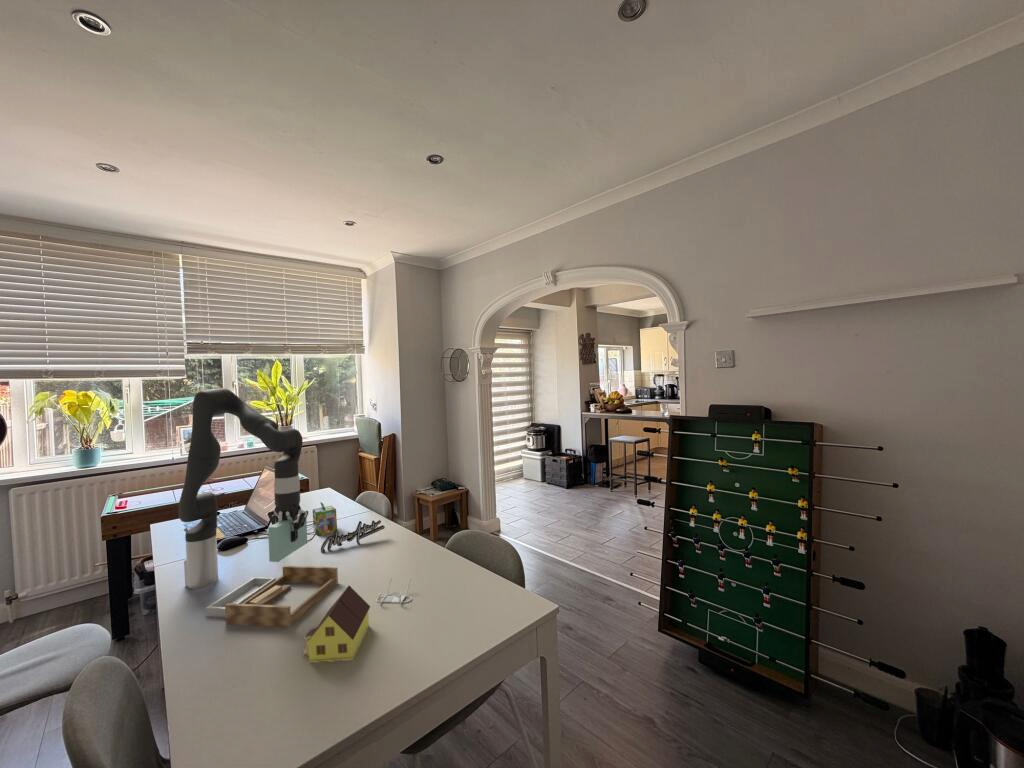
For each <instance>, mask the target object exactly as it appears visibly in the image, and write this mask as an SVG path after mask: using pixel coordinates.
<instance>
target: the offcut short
mask: <svg viewBox="0 0 1024 768" xmlns="http://www.w3.org/2000/svg"><path fill="white" fill-rule="evenodd" d="M282 586H283V585H281V586H277V585H276V586H274V587H273V588H271V589H270V590H268V591H266V592H265V593H263V594H261V595H260V596H258V597H257V598H255V599H253V600H252V601H250V602H249V604H256V605H262V604H263V603H265V602H267V601H268V600H270V599H271V598H273V597H274V596H276V595H277V594H279V593H280V592H282Z"/></svg>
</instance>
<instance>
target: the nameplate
mask: <svg viewBox="0 0 1024 768" xmlns="http://www.w3.org/2000/svg"><path fill="white" fill-rule="evenodd" d="M381 522H382V521H381V519H379V520H378V521H375V520H372V521H371V524H366V523H365V522H364V523H363V525H362V521H361V520H359V522H358V523H357V526H356V528H355V530H354V531H351V532H350V531H349V532H347V533H346V534H343V533H342V534H341V535H339V531H338V529H337V530H336V531H335V532H334V533H332V535H328V536H327V537H326V539H325V540H324V541H323V542H322V545H321V547H320V552H321V553H325V552H326V549H327V551H329V552H330V551H331V548H332V547H333V546H337V547H342V545H343V543H342V542H345V541H346V542H349V543H350V542H352V541H354V539H356V540H355V541H356V544H357V545H358V546H359V545H360V544H361V543H360V540H361V539H364V538H366V537H368V536H371V535H373V534H375V533H377V532H380V531H382V530H384V529H385V525H384V524H383V525H382V524H381ZM380 524H381V525H380ZM379 525H380V526H379ZM326 546H327V548H326Z"/></svg>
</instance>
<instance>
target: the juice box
mask: <svg viewBox="0 0 1024 768" xmlns="http://www.w3.org/2000/svg"><path fill="white" fill-rule="evenodd" d="M320 505H321V507H317V508H314V509H313V508H312V522H313V523H312V525H313V533H314V532H315V533H316V534H315V533H314V534H315V535H316V536H317V537H320V536H325V535H329V534H333V533H334V532H335V531H336V530H337V531H338V521H337V520H338V519H337V518H338V517H337V508H335V507H334V506H332V505H327V506H325V505H324V503H323V502H322V501H321V502H320Z"/></svg>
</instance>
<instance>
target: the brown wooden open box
mask: <svg viewBox="0 0 1024 768" xmlns="http://www.w3.org/2000/svg"><path fill="white" fill-rule="evenodd" d="M338 570H339V569H338V567H337V566H313V565H311V566H310V565H309V566H306V565H305V566H304V565H284V566H282V575H281V576H279V577H278V578H276V580H275V581H273V582H272V583H271V584H269V585H268V586H266V587H265V588H263V589H262V590H261V591H259V592H258V593H256V594H255V595H253V596H252V597H250V598H249V599H248V600H246V601H245V602H243V603H242V604H232V603H227V604H226V605H225V616H226V617H225V625H240V626H241V625H242V626H243V625H244V626H260V627H262V626H263V627H280V628H290V627H291V625H293V624H294V623H295V622H296V621H297V620H299V618H301V617H302V616H303V615H304V614H305V613H306V612H308V611H309V610H310V609H311V608H312V607H313V606H314V605H315V604H316V603H318V602H319V601H320V600H321V599H322V598H323V597H324V596H326V594H328V593H329V592H330V591H332V589H333V588H335V586H337V584H338V583H339V575H338V574H339V573H338ZM285 582H287V583H290V584H316V585H318V584H319V585H322V586H321V587H319V588H318V589H317V590H316V591H314V593H313V594H311V595H310V596H309V597H308V598H306V599H305V600H304V601H303V602H302V603H301V604H300V605H298V606H297V607H296V608H295V609H294V610H292V611H291V605H280V604H279V605H275V604H269V605H256V604H249V602H250V601H252V600H253V599H255V598H257V597H258V596H260V595H261V594H263V593H265V592H266V591H268V590H270V589H271V588H273V587H274V586H276V585H277V586H283V585H285V584H286V583H285ZM318 600H319V601H318ZM311 606H312V607H311ZM310 607H311V608H310ZM309 608H310V609H309ZM308 609H309V610H308ZM303 613H304V614H303ZM289 626H290V627H289Z"/></svg>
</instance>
